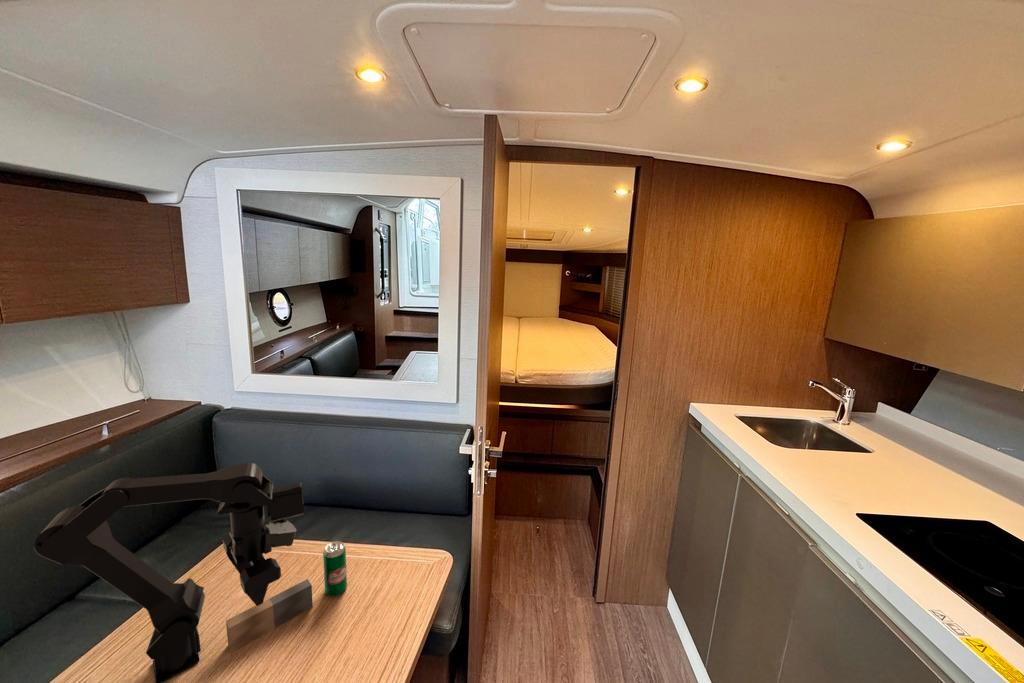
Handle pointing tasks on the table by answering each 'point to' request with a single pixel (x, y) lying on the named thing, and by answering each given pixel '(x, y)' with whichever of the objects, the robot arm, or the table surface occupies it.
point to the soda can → (335, 568)
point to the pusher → (268, 615)
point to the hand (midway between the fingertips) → (253, 591)
